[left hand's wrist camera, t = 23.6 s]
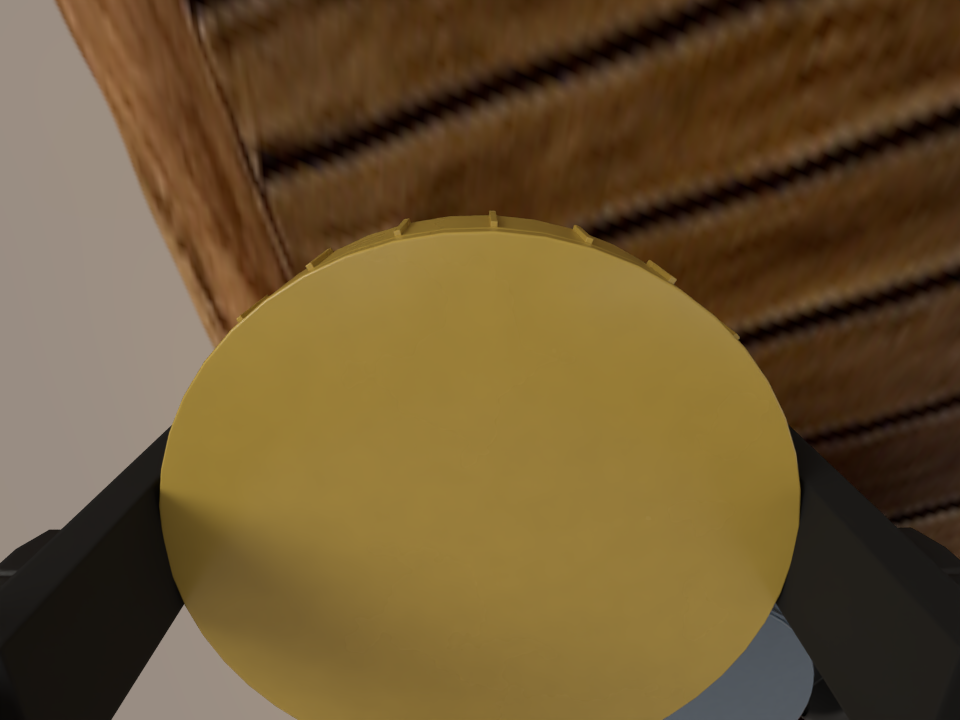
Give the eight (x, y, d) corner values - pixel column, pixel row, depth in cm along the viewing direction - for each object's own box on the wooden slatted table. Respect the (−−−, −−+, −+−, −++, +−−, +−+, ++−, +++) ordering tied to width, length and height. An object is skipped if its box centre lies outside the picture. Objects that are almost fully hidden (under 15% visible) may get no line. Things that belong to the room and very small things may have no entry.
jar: (685, 545, 41) (798, 777, 26) (538, 545, 41) (568, 776, 26) (704, 413, 37) (847, 595, 22) (543, 413, 37) (581, 595, 22)
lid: (85, 432, 12) (14, 486, 10) (563, 69, 10) (583, 55, 8) (427, 754, 15) (420, 837, 13) (845, 544, 13) (903, 609, 11)
